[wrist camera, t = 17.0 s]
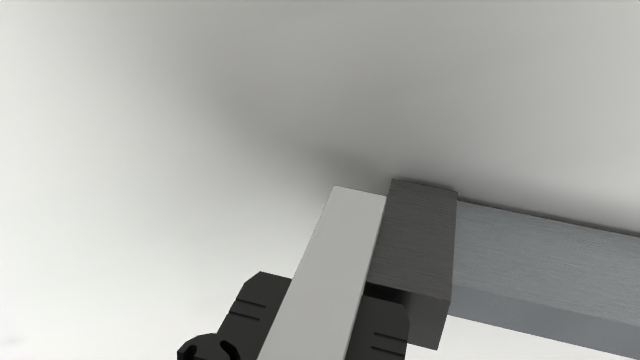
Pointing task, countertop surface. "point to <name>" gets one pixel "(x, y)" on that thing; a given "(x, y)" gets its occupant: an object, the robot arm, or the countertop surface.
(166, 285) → the countertop surface
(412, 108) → the countertop surface
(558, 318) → the bar
